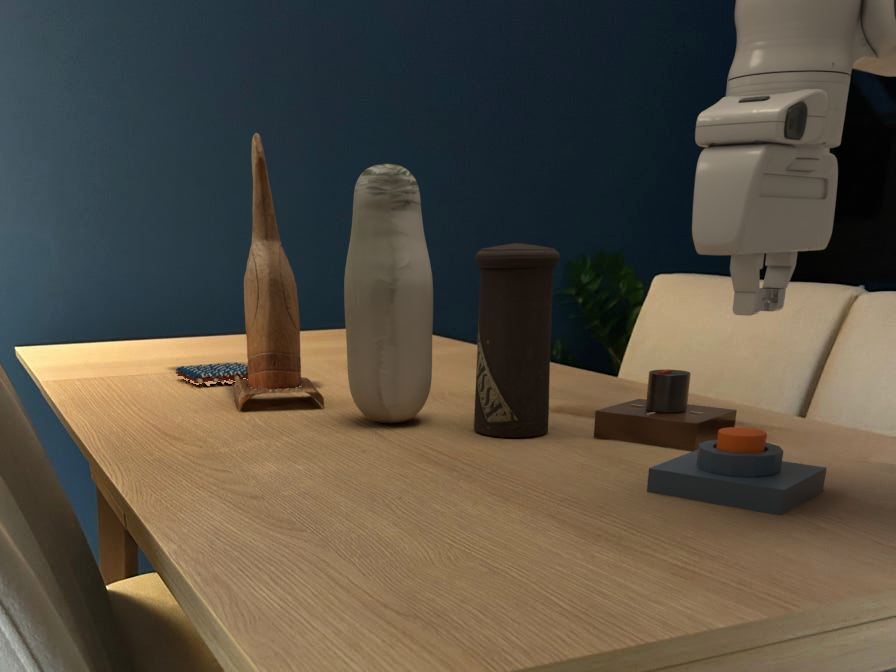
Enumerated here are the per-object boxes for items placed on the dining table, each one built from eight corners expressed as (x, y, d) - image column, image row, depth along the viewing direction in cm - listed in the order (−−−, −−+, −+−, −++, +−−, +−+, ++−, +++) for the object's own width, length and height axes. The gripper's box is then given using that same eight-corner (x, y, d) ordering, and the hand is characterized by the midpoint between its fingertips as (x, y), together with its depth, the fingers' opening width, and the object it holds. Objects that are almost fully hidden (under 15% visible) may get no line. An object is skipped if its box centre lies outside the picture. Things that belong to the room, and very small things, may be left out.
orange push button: (771, 451, 85) (774, 430, 84) (753, 458, 82) (755, 438, 81) (727, 444, 87) (729, 425, 86) (708, 452, 84) (710, 432, 83)
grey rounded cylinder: (442, 426, 114) (443, 161, 103) (356, 431, 112) (348, 160, 101) (421, 412, 123) (420, 166, 112) (341, 416, 120) (332, 166, 109)
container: (478, 423, 116) (482, 242, 108) (553, 425, 114) (563, 242, 106) (466, 437, 108) (470, 244, 100) (547, 440, 106) (557, 244, 99)
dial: (657, 404, 110) (661, 365, 108) (693, 409, 107) (698, 368, 105) (638, 410, 106) (641, 369, 105) (675, 414, 104) (679, 373, 102)
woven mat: (264, 382, 146) (263, 369, 145) (196, 388, 141) (194, 374, 140) (239, 374, 154) (238, 361, 154) (174, 379, 149) (173, 365, 149)
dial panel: (733, 437, 108) (737, 408, 107) (693, 452, 101) (697, 421, 100) (636, 424, 115) (638, 397, 114) (593, 437, 108) (595, 408, 107)
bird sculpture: (312, 394, 136) (300, 138, 123) (327, 408, 125) (316, 130, 113) (231, 398, 133) (211, 136, 120) (240, 413, 123) (219, 128, 110)
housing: (822, 491, 86) (830, 447, 84) (780, 516, 79) (787, 467, 77) (696, 471, 93) (700, 430, 91) (646, 492, 86) (650, 447, 84)
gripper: (791, 134, 84) (769, 303, 89) (685, 116, 69) (666, 319, 75) (867, 129, 80) (839, 306, 85) (772, 109, 65) (745, 324, 71)
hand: (757, 312), depth 80 cm, fingers open, 3 cm apart
